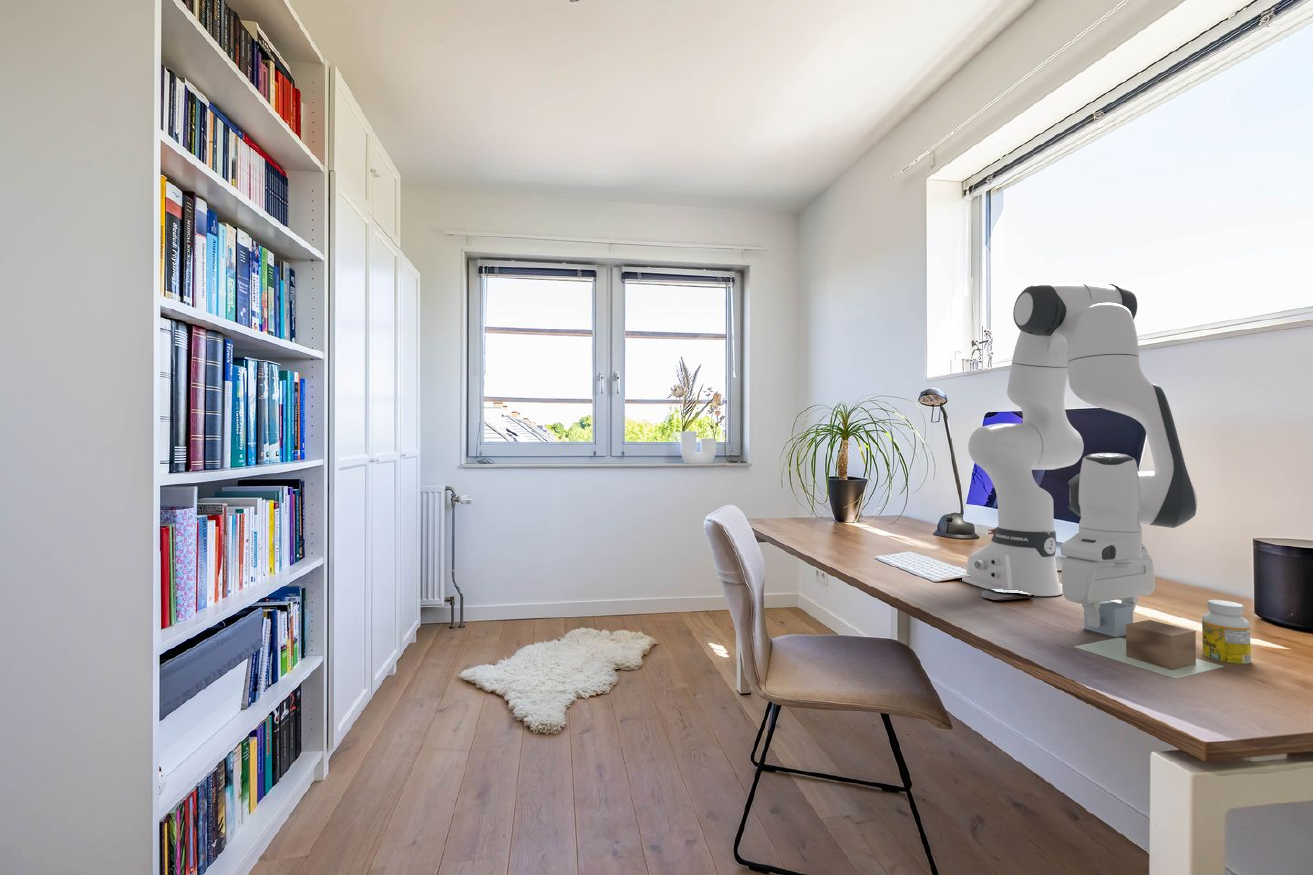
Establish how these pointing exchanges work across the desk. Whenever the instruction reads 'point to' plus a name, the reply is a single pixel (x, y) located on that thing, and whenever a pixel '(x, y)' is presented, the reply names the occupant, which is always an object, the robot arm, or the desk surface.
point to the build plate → (1118, 652)
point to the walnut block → (1161, 644)
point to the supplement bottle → (1226, 633)
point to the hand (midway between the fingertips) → (1110, 623)
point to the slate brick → (1112, 618)
